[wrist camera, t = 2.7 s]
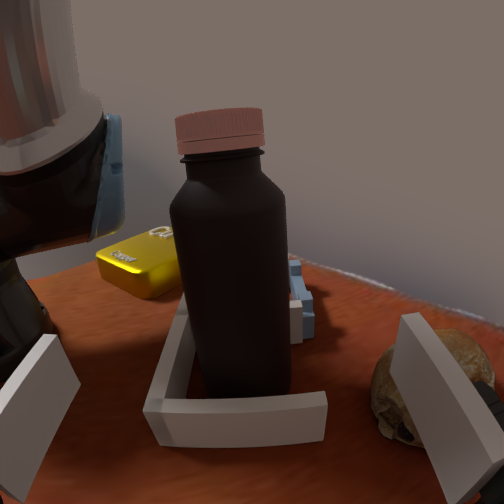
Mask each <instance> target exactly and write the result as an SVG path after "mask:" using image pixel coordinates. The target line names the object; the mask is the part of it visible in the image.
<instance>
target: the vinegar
mask: <svg viewBox="0 0 504 504" xmlns="http://www.w3.org/2000/svg"><path fill="white" fill-rule="evenodd" d="M175 125H176V136H177V146H178V154H181V155H183V154H184V158H182V159H181V160H180V162H181V163H185V164H186V173H187V180H186V182H185V183H184V185H183V186H182V188H181V189H180V190H179V192H178V193H177V195H176V196H175V198H174V200H173V201H172V203H171V205H170V218H171V224H172V230H173V236H174V242H175V248H176V254H177V259H178V265H179V270H180V275H181V281H182V286H183V291H184V296H185V301H186V305H187V310H188V315H189V320H190V324H191V329H192V333H193V338H194V342H195V346H196V351H197V355H198V359H199V363H200V367H201V371H202V375H203V379H204V383H205V387H206V391H207V393H208V395H209V397H210V399H232V398H254V397H269V396H281V395H286V394H287V393H288V391H289V389H290V383H291V340H290V300H289V270H288V246H287V225H286V206H285V196H284V194H283V192H282V191H281V190H280V189H279V188H278V187H277V186H276V185H275V184H274V183H273V182H272V181H271V180H270V179H269V178H268V177H267V176H266V175H265V174H264V173H263V172H262V171H261V163H260V155H262V154H264V151H263V150H260V149H259V146H263V145H265V141H264V134H263V133H264V130H263V118H262V110H261V109H259V108H229V109H217V110H209V111H202V112H195V113H190V114H185V115H181V116H178V117H176V118H175ZM180 142H182V143H180Z"/></svg>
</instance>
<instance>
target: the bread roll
mask: <svg viewBox="0 0 504 504" xmlns="http://www.w3.org/2000/svg"><path fill="white" fill-rule="evenodd" d="M433 331H434V332H435V333H436V335H437V336H438V337H439V339H440V340H441V341H442V343H443V344H444V345H445V347H446V348H447V349H448V351H449V352H450V353H451V355H452V356H453V357H454V359H455V360H456V362H457V363H458V364H459V366H460V367H461V369H462V370H463V371H464V373H465V374H466V376H467V377H468V378H469V380H470V381H471V383H474V382H477V381H479V380H482V381H483V382H485V383H486V384H487V385H489V386H490V387H492V388H493V389H494V391H495V388H494V385H495V372H494V370H493V368H492V365H491V362H490V361H489V359H488V357H487V355H486V353H485V351H484V350H483V348H482V347H481V346H480V344H478V343H477V342H476V341H475V340H474V339H473V338H472V337H471V336H469V335H468V334H466V333H464V332H462V331H459V330H457V329H446V330H442V329H437V330H433ZM395 344H396V343H394V344H393V345H392V346H390V347H389V348H388V349H387V350H386V351H385V352H384V353H383V354H382V356H381V358H380V359H379V361H378V363H377V365H376V367H375V370H374V373H373V377H372V381H371V399H372V400H371V409H372V411H373V413H374V415H375V416H376V418H377V419H378V420H379V423H378V429H379V431H380V432H381V433H382V434H383V436H385V437H387V438H389V439H391V440H392V439H393V438H394V439H397V440H400V441H401V442H404V443H406V444H409V445H412V446H417V447H421V448H425V447H424V445H423V442H422V440H421V438H420V435H419V433H418V431H417V429H416V427H415V424H414V422H413V420H412V418H411V416H410V413H409V411H408V409H407V407H406V405H405V403H404V401H403V398H402V396H401V394H400V392H399V390H398V388H397V386H396V384H395V382H394V380H393V378H392V376H391V374H390V372H389V371H390V367H391V363H392V358H393V354H394V349H395Z"/></svg>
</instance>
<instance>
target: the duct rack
mask: <svg viewBox="0 0 504 504" xmlns="http://www.w3.org/2000/svg"><path fill="white" fill-rule="evenodd" d="M288 270H289V287H290V290H291V295H292V299H293V301H290V340H291V344H297V343H303V339H308V338H314V328H315V315H314V312H313V298H312V295H311V292H310V291H307V290H306V287H305V284H304V281H303V278H302V275H301V263H300V261H299V260H289V257H288ZM195 352H196V346H195V342H194V338H193V333H192V329H191V324H190V320H189V315H188V310H187V305H186V301H185V296H184V292H183V295H182V298H181V300H180V303H179V306H178V309H177V311H176V314H175V317H174V320H173V322H172V325H171V328H170V331H169V334H168V336H167V339H166V342H165V345H164V348H163V351H162V353H161V356H160V359H159V362H158V365H157V368H156V371H155V374H154V377H153V380H152V383H151V386H150V389H149V392H148V395H147V398H146V401H145V404H144V407H143V411H142V412H143V414H144V416H145V418H146V420H147V422H148V424H149V426H150V428H151V430H152V432H153V433H154V435H155V437H156V439H157V441H158V443H159V445H160V446H173V447H194V448H243V447H264V446H278V445H290V444H299V443H308V442H316V441H323V439H324V432H325V425H326V417H327V410H328V402H327V398H326V394H325V391H319V392H311V393H302V394H292V395H281V396H269V397H254V398H232V399H186V394H187V389H188V385H189V380H190V375H191V370H192V366H193V361H194V356H195Z"/></svg>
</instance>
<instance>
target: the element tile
mask: <svg viewBox="0 0 504 504" xmlns="http://www.w3.org/2000/svg"><path fill="white" fill-rule="evenodd" d="M96 259H97V263H98V267H99V271H100V274H101V278H102V279H104V280H106V281H107V282H109V283H111V284H113V285H115V286H116V287H118V288H120V289H122V290H124V291H126V292H128V293H129V294H131V295H133V296H135V297H137V298H140V299H152V298H155V297H158V296H160V295H162V294H164V293H165V292H167V291H169V290H171V289H173V288H175V287H177V286H178V285H180V284H182V281H181V275H180V270H179V265H178V259H177V254H176V248H175V242H174V236H173V230H172V227H166V226H161V227H158V228H155V229H152V230H150V231H147V232H145V233H142V234H140V235H137V236H134V237H132V238H129V239H127V240H124V241H122V242H119V243H117V244H114V245H112V246H109V247H107V248H104V249H102V250H100V251H98V252H97V253H96Z"/></svg>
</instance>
